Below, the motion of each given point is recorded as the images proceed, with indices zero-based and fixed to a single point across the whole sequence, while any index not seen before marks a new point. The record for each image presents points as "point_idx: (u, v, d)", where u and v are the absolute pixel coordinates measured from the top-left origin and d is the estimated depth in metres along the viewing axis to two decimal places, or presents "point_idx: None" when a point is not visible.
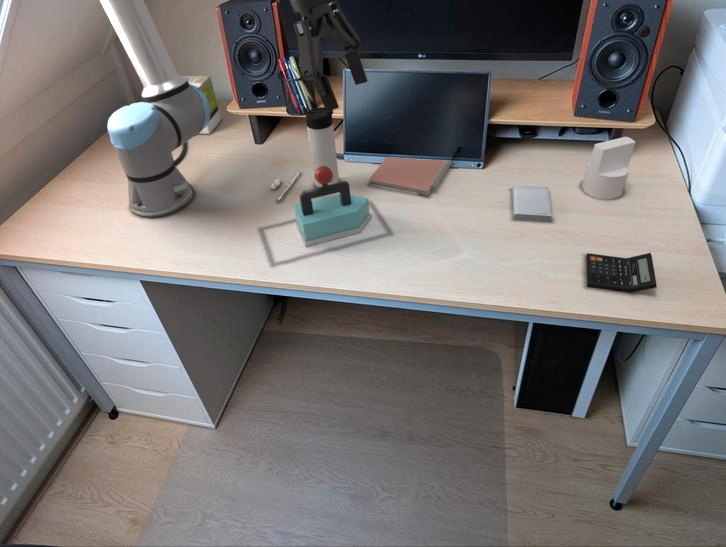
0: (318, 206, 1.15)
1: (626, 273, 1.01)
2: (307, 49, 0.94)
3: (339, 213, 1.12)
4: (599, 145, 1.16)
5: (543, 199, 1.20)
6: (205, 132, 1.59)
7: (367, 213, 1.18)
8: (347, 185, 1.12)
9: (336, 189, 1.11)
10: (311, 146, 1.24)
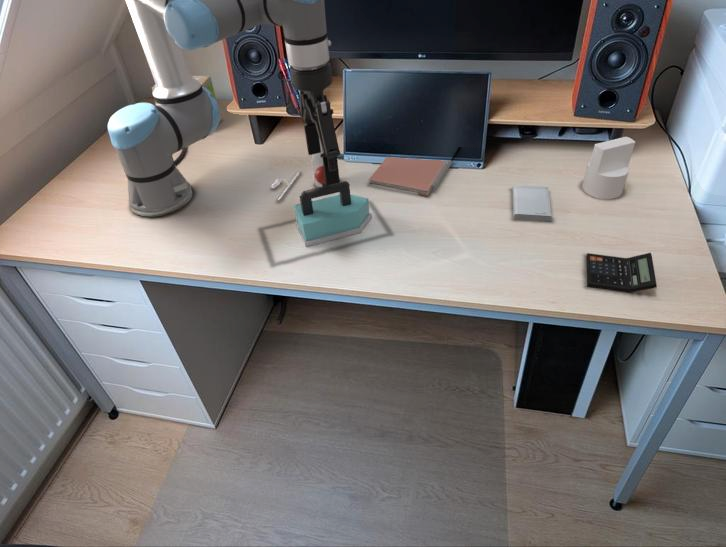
0: (318, 206, 1.15)
1: (627, 273, 1.01)
2: (332, 129, 0.94)
3: (339, 213, 1.12)
4: (599, 145, 1.16)
5: (543, 199, 1.20)
6: None
7: (367, 213, 1.18)
8: (347, 185, 1.12)
9: (336, 189, 1.11)
10: None
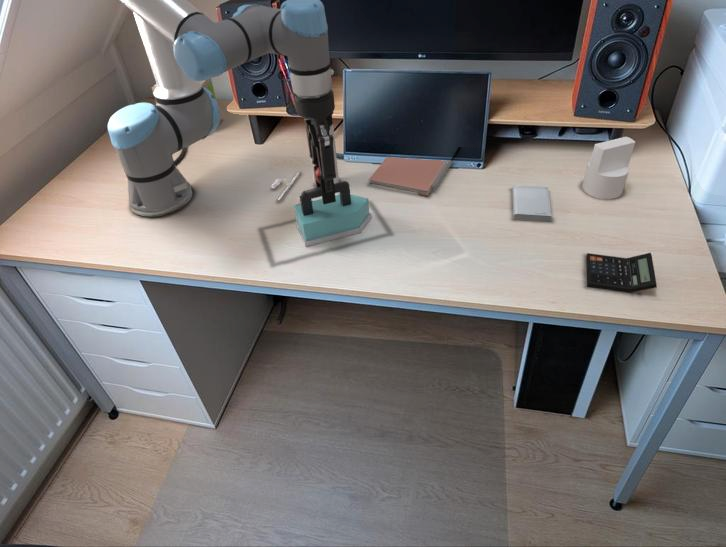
0: (318, 206, 1.15)
1: (626, 273, 1.01)
2: (332, 158, 1.01)
3: (339, 213, 1.12)
4: (599, 145, 1.16)
5: (543, 199, 1.20)
6: None
7: (367, 213, 1.18)
8: (347, 185, 1.12)
9: (336, 189, 1.11)
10: None
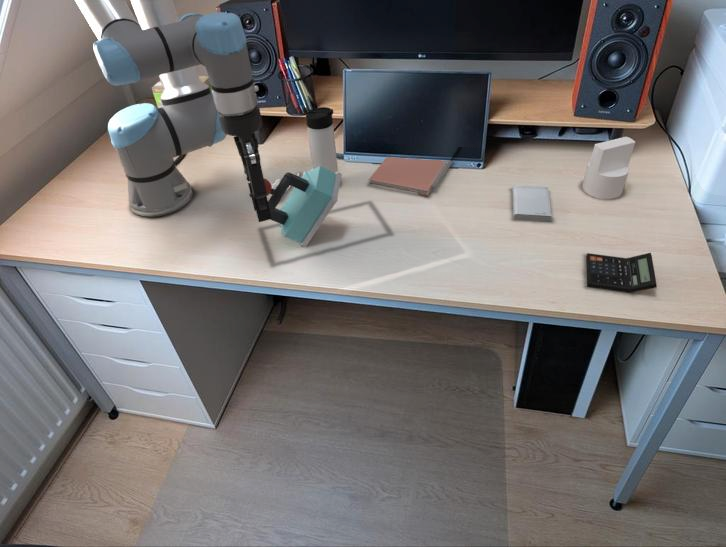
0: (290, 205, 1.12)
1: (627, 273, 1.01)
2: (260, 176, 0.98)
3: (303, 203, 1.08)
4: (599, 145, 1.16)
5: (543, 199, 1.20)
6: None
7: (332, 176, 1.09)
8: (288, 176, 1.06)
9: (283, 188, 1.07)
10: (311, 146, 1.24)
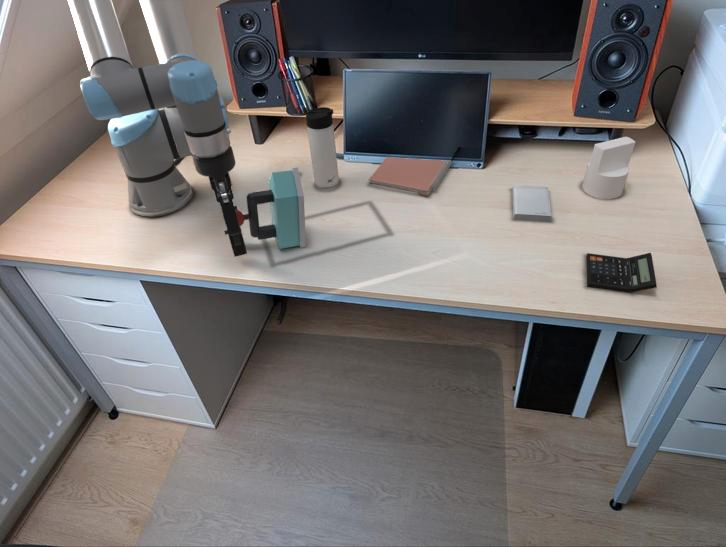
0: (273, 217, 1.12)
1: (626, 273, 1.01)
2: (233, 214, 1.01)
3: (276, 214, 1.07)
4: (599, 145, 1.16)
5: (543, 199, 1.20)
6: None
7: (289, 175, 1.06)
8: (249, 198, 1.06)
9: (252, 209, 1.07)
10: (311, 146, 1.24)
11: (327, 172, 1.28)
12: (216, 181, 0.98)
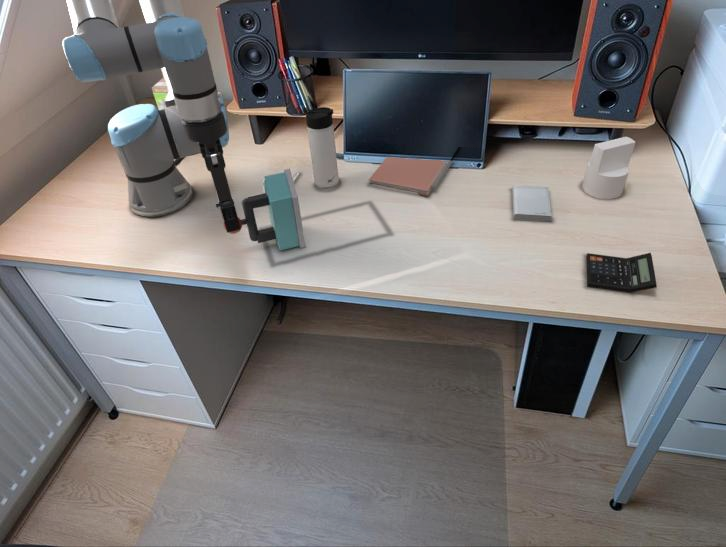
0: (271, 219, 1.13)
1: (626, 273, 1.01)
2: (224, 180, 0.93)
3: (273, 217, 1.07)
4: (599, 145, 1.16)
5: (543, 199, 1.20)
6: None
7: (282, 177, 1.05)
8: (244, 203, 1.06)
9: (248, 214, 1.08)
10: (311, 146, 1.24)
11: (327, 172, 1.28)
12: (206, 148, 0.93)
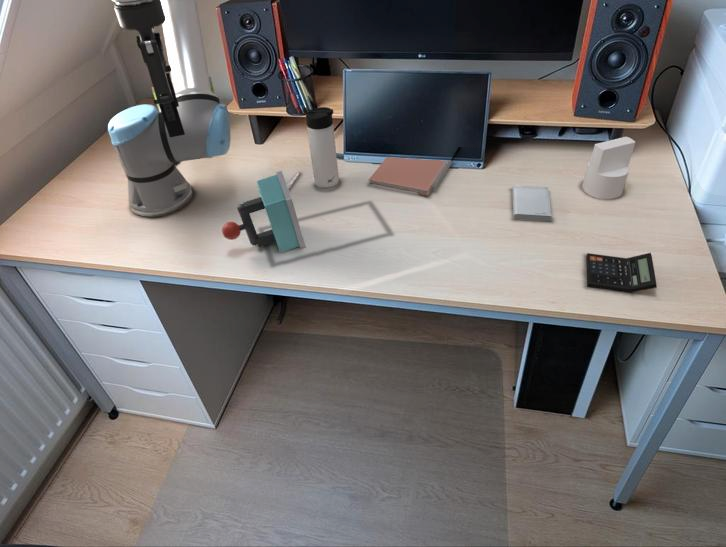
0: None
1: (626, 273, 1.01)
2: (161, 71, 0.86)
3: (269, 220, 1.08)
4: (599, 145, 1.16)
5: (543, 199, 1.20)
6: None
7: (275, 180, 1.05)
8: (240, 209, 1.07)
9: (245, 219, 1.08)
10: (311, 146, 1.24)
11: (327, 172, 1.28)
12: (142, 36, 0.86)
